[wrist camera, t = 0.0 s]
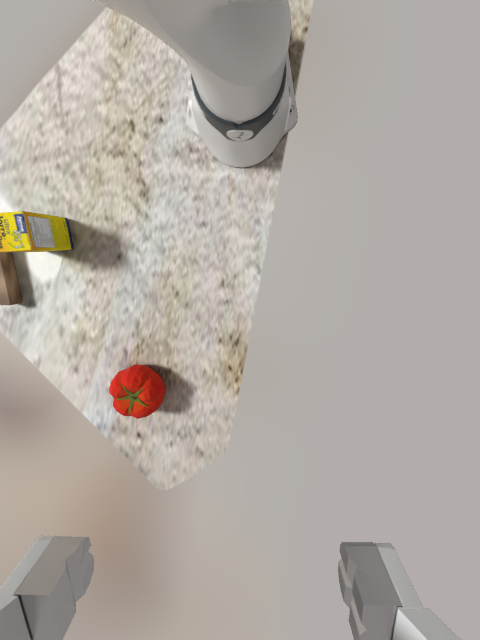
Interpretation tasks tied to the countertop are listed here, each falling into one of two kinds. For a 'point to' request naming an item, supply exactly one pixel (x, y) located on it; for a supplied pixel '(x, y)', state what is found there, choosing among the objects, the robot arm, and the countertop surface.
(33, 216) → the supplement box
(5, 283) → the walnut rail
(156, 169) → the countertop surface
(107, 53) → the countertop surface
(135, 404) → the tomato
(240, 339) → the countertop surface
